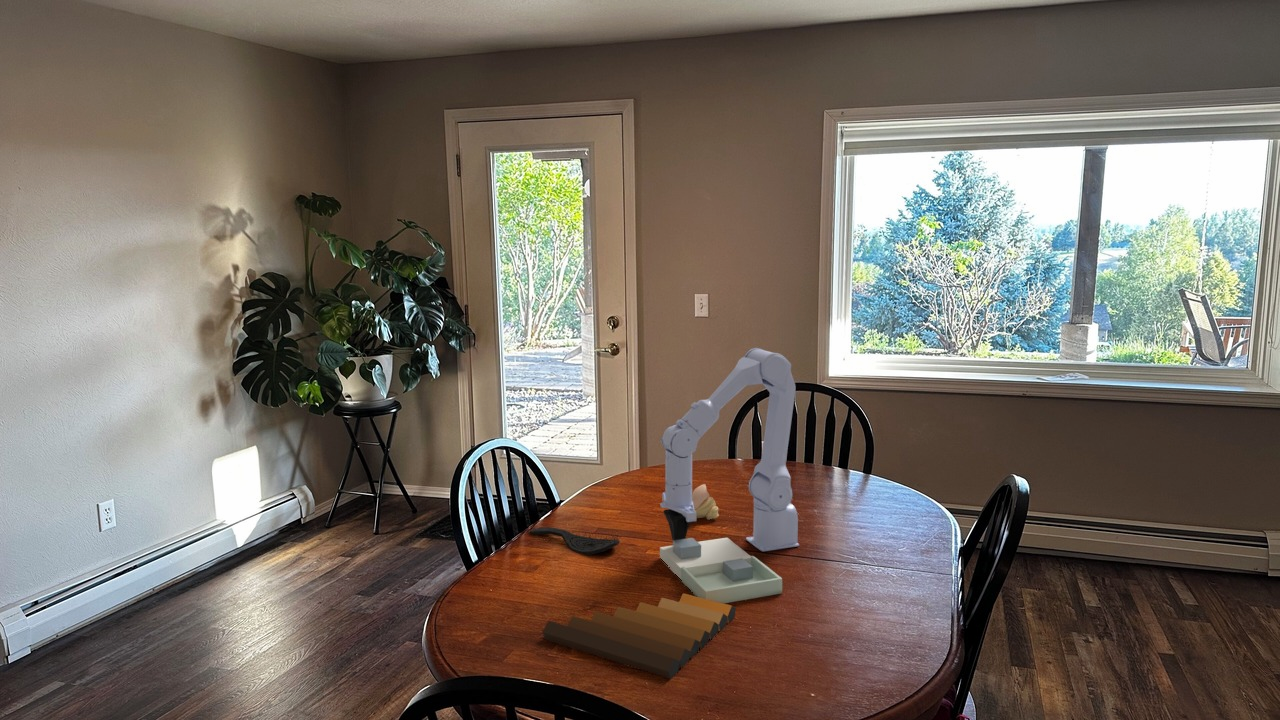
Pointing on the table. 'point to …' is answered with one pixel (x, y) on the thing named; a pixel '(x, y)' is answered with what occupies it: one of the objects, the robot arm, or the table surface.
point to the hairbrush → (579, 541)
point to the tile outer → (687, 548)
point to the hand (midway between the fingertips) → (678, 543)
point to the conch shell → (704, 503)
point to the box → (734, 584)
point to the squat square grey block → (737, 569)
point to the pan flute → (647, 633)
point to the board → (705, 557)
